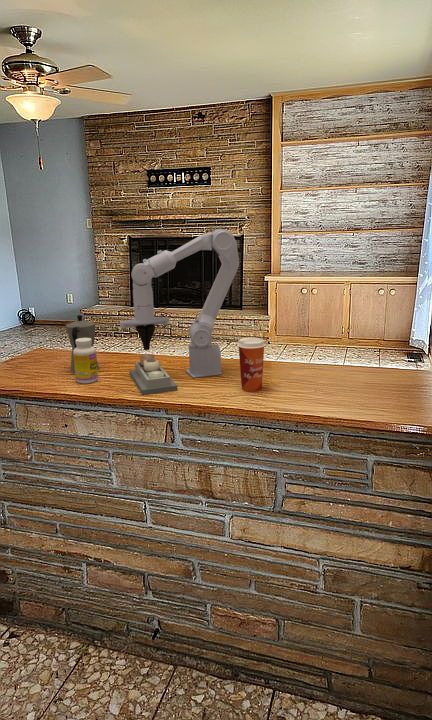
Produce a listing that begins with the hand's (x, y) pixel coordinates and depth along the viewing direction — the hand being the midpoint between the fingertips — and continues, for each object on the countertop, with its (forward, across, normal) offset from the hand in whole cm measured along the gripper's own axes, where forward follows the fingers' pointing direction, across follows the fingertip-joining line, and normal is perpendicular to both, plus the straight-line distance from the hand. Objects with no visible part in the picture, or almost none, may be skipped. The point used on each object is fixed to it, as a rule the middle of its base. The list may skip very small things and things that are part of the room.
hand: (146, 349), depth 155 cm
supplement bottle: (+9, +18, -4) cm, 20 cm away
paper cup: (+9, -25, +22) cm, 35 cm away
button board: (+9, 0, +6) cm, 10 cm away
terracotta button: (+5, 0, 0) cm, 5 cm away
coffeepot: (+9, +18, -14) cm, 25 cm away
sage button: (+7, 0, +12) cm, 14 cm away
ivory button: (+5, 0, +6) cm, 8 cm away
